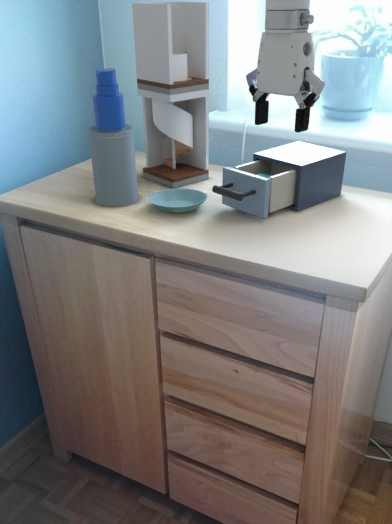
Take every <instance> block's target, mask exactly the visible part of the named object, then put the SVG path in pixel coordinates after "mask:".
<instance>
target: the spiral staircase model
mask: <svg viewBox="0 0 392 524" xmlns="http://www.w3.org/2000/svg"><path fill="white" fill-rule="evenodd" d="M131 5H132V7H131V8H132V24H133V38H134V39H133V40H134V55H135V69H136V70H135V71H136V85H137V86H136V87H137V96H138V97H141V98H142V115H143V131H144V147H145V165H146V166H145V167H142V177H143V178H145V179H148V180H150V181H153V182H156V183H159V184H161V185H164V186H166V187H169V188H171V189H176V188H179V187H182V186H187V185H190V184H192V183H197V182H200V181H201V182H202V181H203V180H208V179H209V178H210V176H209V173H210V172H209V171H210V167H209V166H210V163H209V162H210V161H209V160H210V152H209V151H210V128H209V127H210V126H209V125H210V2H207V1H204V2H202V1H180V0H179V1H178V0H177V1H175V0H172V1H169V0H167V1H149V2H147V1H146V2H145V1H144V2H132V3H131Z"/></svg>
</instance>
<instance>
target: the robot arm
mask: <svg viewBox="0 0 392 524" xmlns="http://www.w3.org/2000/svg"><path fill="white" fill-rule="evenodd" d="M311 2H312V0H265V10H264V11H265V12H264V30H263V31H262V33H261V37H260V40H259V49H258V55H257V64H256V68H255V69H253V70H252V71H250V72H248V73H247V74H246V75H245V80H246V83H247V86H248V92H249V93H250V95H251V96H252V98H251V99H252V102H253V103H254V125H255V126H260V125H261V126H262V125H265V124H267V123H268V122H269V107H270V102H269V100H268V97H269V96H270V94H271V95H277V96H285V97H293V98H294V100H295V102H296V104H297V106H298V108H296V110H295V119H294V120H295V121H294V132H295V133H302V132H306V131H308V130H309V126H310V119H311V118H310V116H311V108H313V107H314V106H315V104H316V102H318V100H319V99H320V97H321V94H322V92H323V90H324V88H325V86H326V82H325V81H324V80H323V79H321V77H319V76H318V75H317V74H315V44H314V43H315V42H314V34H313V31H310V30H309V26H310V25H312V24H313V23H314V21H315V16H314V15H313V14H310V13H311Z"/></svg>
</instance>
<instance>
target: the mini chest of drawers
mask: <svg viewBox="0 0 392 524" xmlns="http://www.w3.org/2000/svg"><path fill="white" fill-rule="evenodd" d="M346 158H347V151H344V150H341V149H335V148H332V147H326V146H323V145H318V144H314V143H308V142H304V141H300V140H298V141H297V140H296V141H293V142H291V143H285V144H282V145H279V146H276V147H272V148H269V149H264V150H260V151H257V152H254V153H252V162H253V161H257V160H260V159H261V160H265V161H269V162H273V163H277V164H280V165H284V166H288V167H292V168H295V169H298V176H297V187H296V198H295V204H292V205H290V206H287V207H284V208H283V209H287V210H290V211H294V212H296V213H298V212H301V211H303V210H306V209H308V208H311V207H313V206H317V205H319V204H322V203H324V202H327V201H329V200H332V199H334V198H337V197H340V196H341V195H342V188H343V180H344V173H345V166H346Z"/></svg>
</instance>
